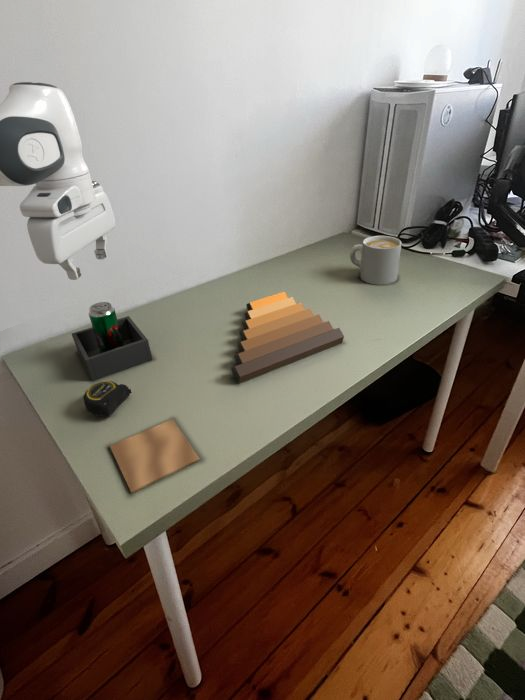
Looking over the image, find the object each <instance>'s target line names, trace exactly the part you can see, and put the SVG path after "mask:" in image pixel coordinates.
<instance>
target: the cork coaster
mask: <svg viewBox="0 0 525 700" xmlns="http://www.w3.org/2000/svg"><path fill="white" fill-rule="evenodd" d="M109 448H110V450H111V452H112V455H113V457H114V459H115V461H116V463H117V466H118V468H119V470H120V472H121V474H122V476H123V478H124V481H125V483H126V485H127V487H128V490H129V491H130V493H131V494H133V493H135V492H138V491H140V490H142V489H143V488H146V487H148V486H150V485H152V484H154V483H156V482H158V481H160V480H162V479H165V478H166V477H168V476H170V475H172V474H175V473H177V472H179V471H180V470H183V469H185V468H187V467H190V466H191V465H194V464H195V463H198V462H199V461H200V460H201V459H200V457H199V456H198V454H197V452H196V451H195V449H194V448H193V447H192V445H191V444H190V443H189V441H188V440H187V438H186V437H185V435H184V434H183V432H182V430H181V429H180V428H179V426H178V425H177V423H176V422H175V421H174V419H173V418H171V419H169V420H167V421H164V422H162V423H160V424H158V425H155V426H152V427H151V428H148V429H146V430H144V431H141V432H139V433H136V434H134V435H132V436H130V437H127V438H124V439H123V440H120V441H117V442H115V443H112V444H111V445H109Z"/></svg>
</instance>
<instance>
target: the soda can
mask: <svg viewBox="0 0 525 700" xmlns="http://www.w3.org/2000/svg"><path fill="white" fill-rule="evenodd" d="M88 317H89V320H90V324H91V327H93V330H94V333H95V337H96V340H97V343H98V346H99V348H98V349H99V354H101V353H104V352H107V351H110V350H113V349H116V348H119V347H122V346H125V343H124V339H122V335H121V331H120V327H119V324H118V320H117V319H118V316H117V313H116V309H115V307H114V306H112V303H111V302H108V301H100V302H96V303H94V304H92V305H90V306H89V308H88Z"/></svg>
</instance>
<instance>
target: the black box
mask: <svg viewBox="0 0 525 700" xmlns="http://www.w3.org/2000/svg"><path fill="white" fill-rule="evenodd" d="M117 320H118V324H119V327H120V331H121V335H122V339H123V340H127V339H129V338H131V339H132V340H133V341H134V342H131V343H128V344H124V346H122V347H119V348H116V349H113V350H110V351H107V352H104V353H97V354H94V355H92V356H88V354H87V352H90V351H93V350H96V349H99V346H98V343H97V340H96V337H95V333H94V330H93V327H92V326H91V327H89V328H84V329H82V330H77V331H75V332H72V333H71V337H72V340H73V342H74V346H75V348H76V351H77V353H78V356H79V357H80V360H81V361H82V363H83V365H84V367H85V369H86V371H87V373H88V375H89V377H90V379H91V381H92V382H94V381H96V380H100V379H103V378H105V377H108V376H111V375H114V374H117V373H119V372H121V371H124V370H127V369H130V368H133V367H136V366H138V365H141V364H144V363H147V362H149V361H152V360H153V356H152V351H151V348H150V343H149V339H148V338H147V336H145V334H144V333H143V332H142V331H141V330H140V328H139V327H138V325H137V324H136V323H135V322H134V320H133V319H132V318H131V316H130V315H126V316H124V317H121V318H117Z"/></svg>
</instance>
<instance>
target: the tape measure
mask: <svg viewBox="0 0 525 700" xmlns="http://www.w3.org/2000/svg"><path fill="white" fill-rule="evenodd" d="M131 394H132V389H131V388H129V386H128V385H126V384H124V383H120V384H118V383H116V382H114V381H109V380H105V381H104V380H103V381H99V382H97V383H94V384H92V385H91V386H90V387H88V388H87V389H86V390H85V392H84V394H83V403H84V407H85V408H86V411H87V412H88V413H90V414H91V415H93V416H103V417H106V418H107V417H110V416H112V415H113V414H114V413H115V412H116V410H118V408H119V407H120V406H121V405H122V404H123V403H124V402H125V401H126V400H127V399H128V398H129V396H130V395H131Z"/></svg>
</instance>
